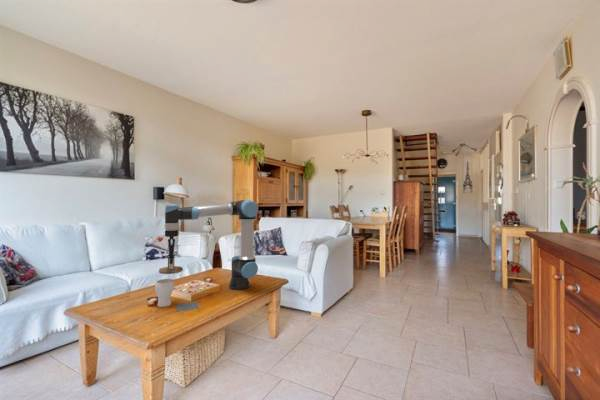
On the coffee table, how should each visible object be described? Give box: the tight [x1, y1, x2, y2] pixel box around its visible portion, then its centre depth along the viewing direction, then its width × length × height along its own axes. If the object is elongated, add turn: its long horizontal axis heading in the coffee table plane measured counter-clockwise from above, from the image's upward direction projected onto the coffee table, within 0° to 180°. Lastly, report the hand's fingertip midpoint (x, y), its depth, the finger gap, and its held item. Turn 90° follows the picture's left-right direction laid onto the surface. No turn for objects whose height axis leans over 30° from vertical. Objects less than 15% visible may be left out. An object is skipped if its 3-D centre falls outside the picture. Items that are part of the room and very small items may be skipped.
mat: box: [176, 301, 200, 312], centre depth 170 cm, size 12×12×1 cm
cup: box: [154, 278, 175, 308], centre depth 173 cm, size 11×11×15 cm
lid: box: [158, 256, 183, 275], centre depth 172 cm, size 13×13×8 cm
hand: (171, 268), depth 172 cm, fingers closed on lid, 3 cm apart
